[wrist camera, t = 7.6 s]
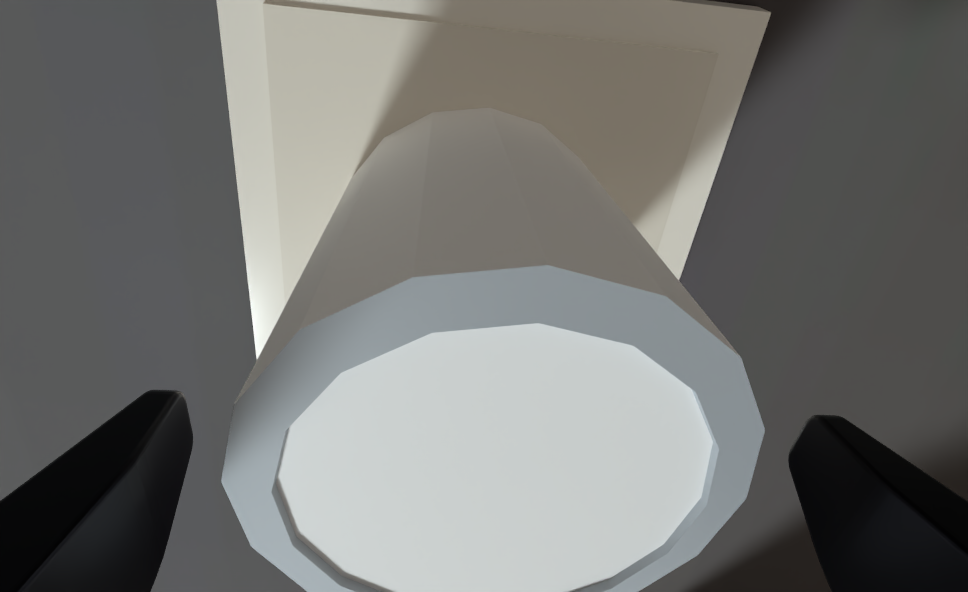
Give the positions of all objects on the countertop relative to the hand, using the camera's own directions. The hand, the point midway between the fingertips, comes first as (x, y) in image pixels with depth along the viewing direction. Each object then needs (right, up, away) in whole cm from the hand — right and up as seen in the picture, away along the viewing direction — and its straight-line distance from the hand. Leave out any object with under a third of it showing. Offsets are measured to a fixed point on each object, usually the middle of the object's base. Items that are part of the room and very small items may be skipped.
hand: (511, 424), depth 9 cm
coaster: (-1, +4, +5) cm, 7 cm away
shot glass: (-1, +3, +5) cm, 6 cm away
